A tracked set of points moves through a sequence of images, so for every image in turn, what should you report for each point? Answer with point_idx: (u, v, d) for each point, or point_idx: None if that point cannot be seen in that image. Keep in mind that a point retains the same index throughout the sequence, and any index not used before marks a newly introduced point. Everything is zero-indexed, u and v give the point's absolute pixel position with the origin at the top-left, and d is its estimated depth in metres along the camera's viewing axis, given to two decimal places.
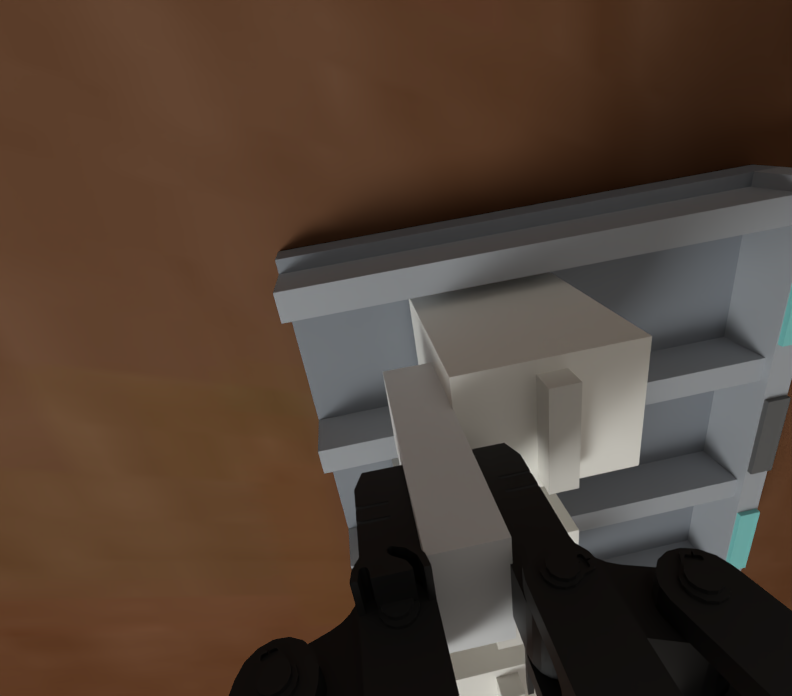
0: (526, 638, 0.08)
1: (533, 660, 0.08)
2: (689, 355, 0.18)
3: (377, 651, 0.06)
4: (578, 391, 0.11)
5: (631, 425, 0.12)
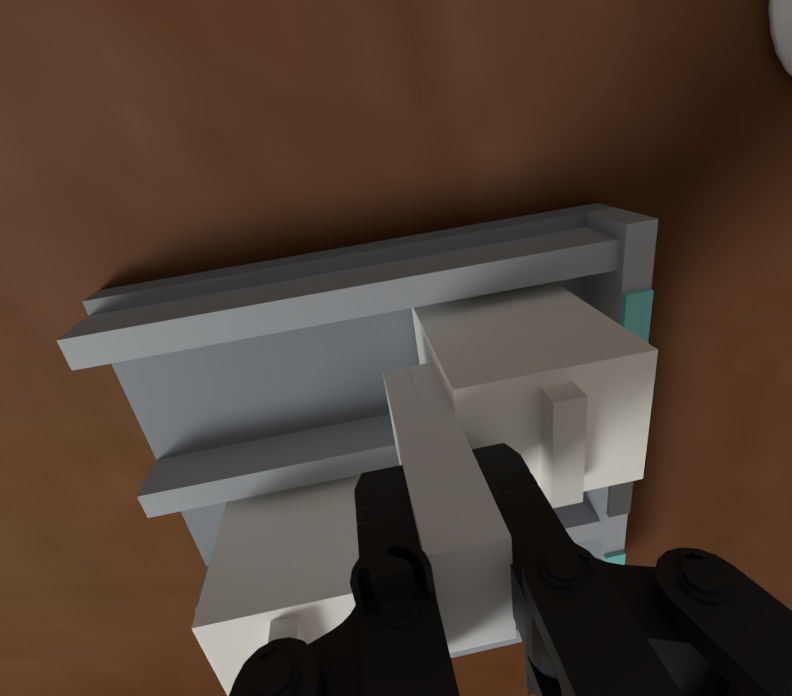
0: (526, 638, 0.08)
1: (533, 660, 0.08)
2: None
3: (377, 651, 0.06)
4: (583, 405, 0.10)
5: (636, 438, 0.12)
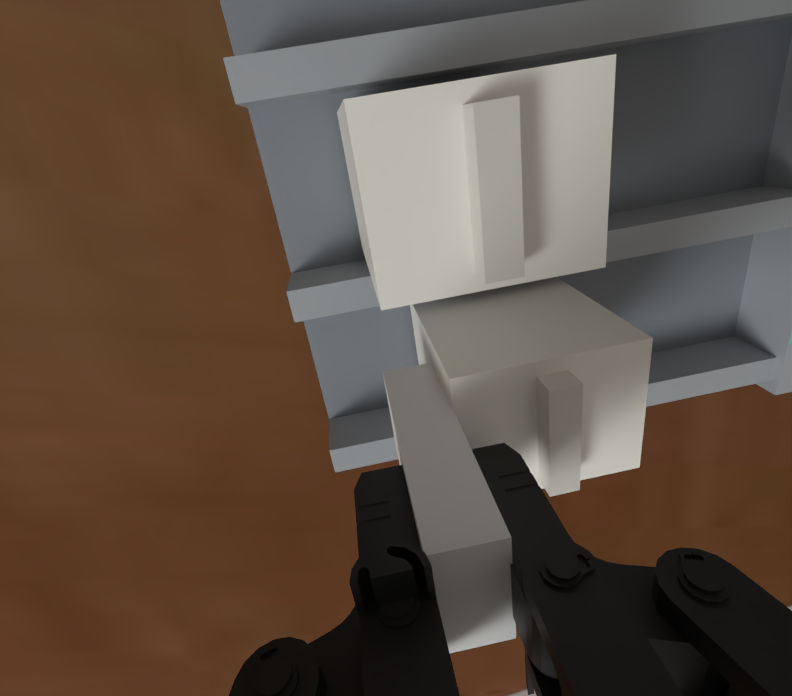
0: (526, 638, 0.08)
1: (533, 660, 0.08)
2: None
3: (377, 651, 0.06)
4: None
5: None
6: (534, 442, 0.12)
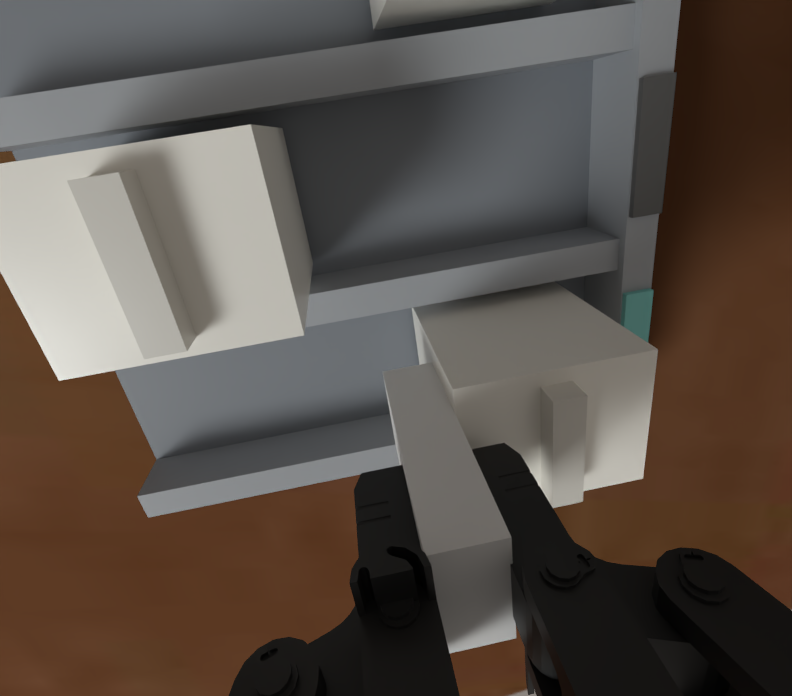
0: (526, 638, 0.08)
1: (533, 660, 0.08)
2: None
3: (377, 651, 0.06)
4: None
5: None
6: (538, 453, 0.12)
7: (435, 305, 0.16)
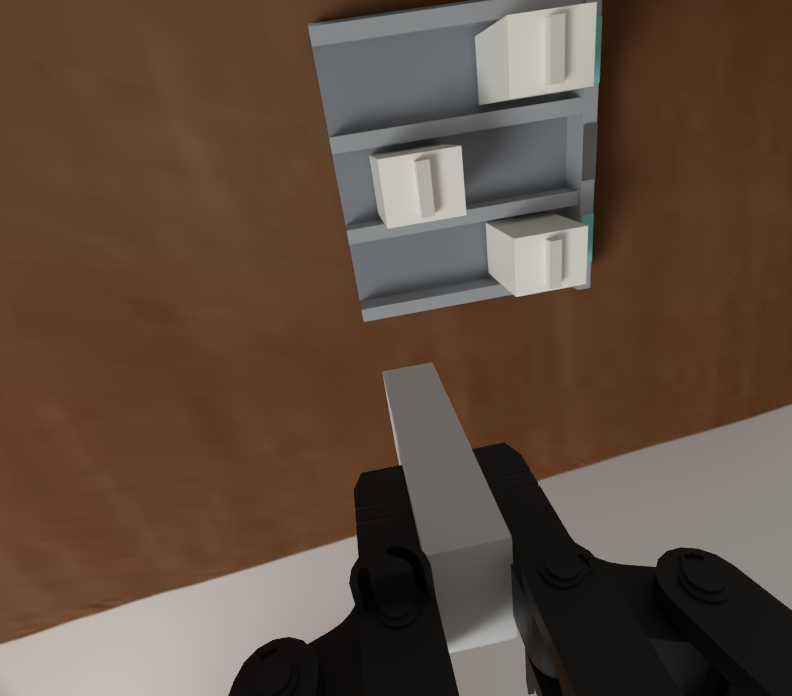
0: (526, 638, 0.08)
1: (533, 660, 0.08)
2: None
3: (377, 651, 0.06)
4: (563, 19, 0.24)
5: (589, 57, 0.26)
6: (544, 268, 0.31)
7: (497, 222, 0.35)
